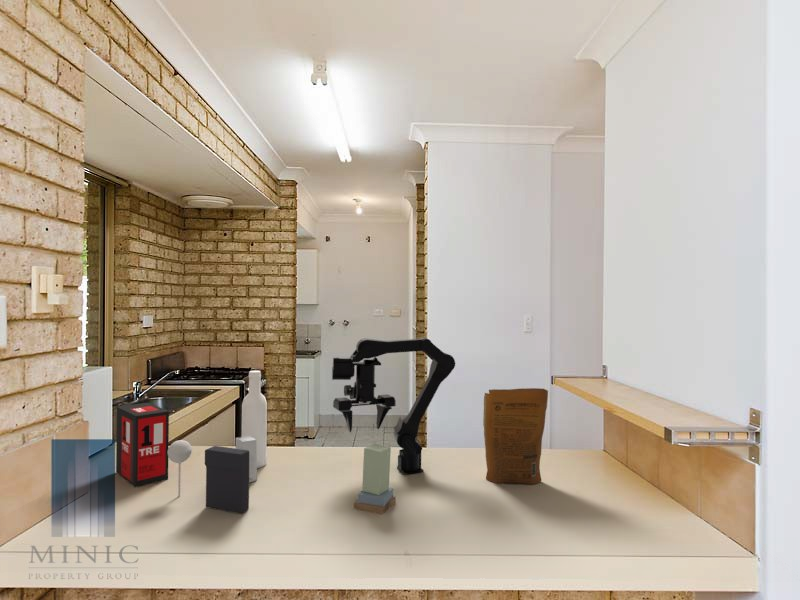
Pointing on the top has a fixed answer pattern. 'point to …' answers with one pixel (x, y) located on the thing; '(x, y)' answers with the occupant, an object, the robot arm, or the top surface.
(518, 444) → the pancake mix bag
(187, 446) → the lollipop
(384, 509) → the walnut base block
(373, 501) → the slate top block
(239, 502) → the calculator
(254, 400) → the bottle
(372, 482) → the sage block
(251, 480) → the skincare box
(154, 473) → the cleaning product box
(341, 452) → the top surface
